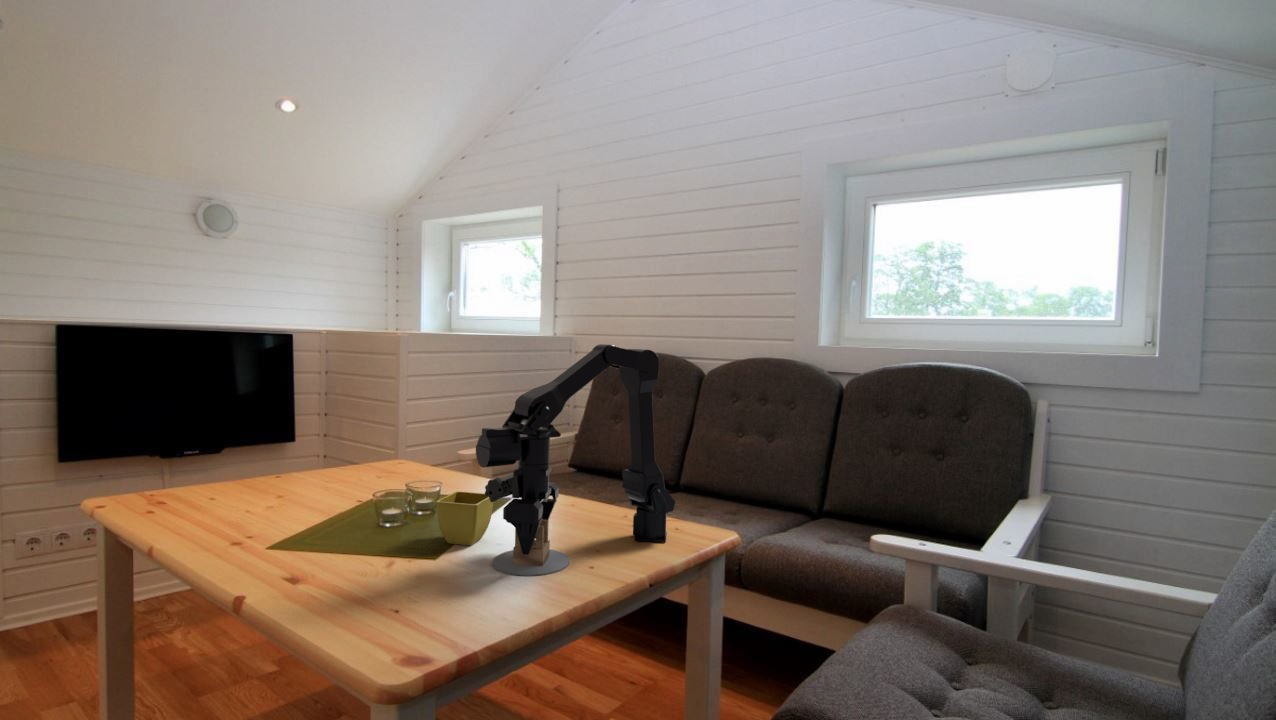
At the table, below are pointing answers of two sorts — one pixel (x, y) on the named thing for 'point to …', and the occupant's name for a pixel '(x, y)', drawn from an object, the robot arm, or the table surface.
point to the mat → (552, 565)
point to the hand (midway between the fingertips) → (531, 546)
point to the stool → (534, 548)
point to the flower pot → (464, 517)
